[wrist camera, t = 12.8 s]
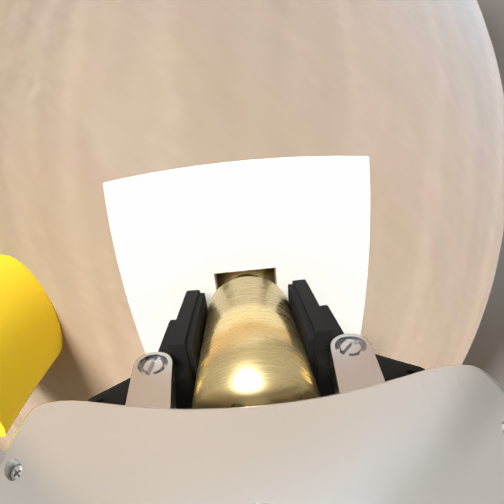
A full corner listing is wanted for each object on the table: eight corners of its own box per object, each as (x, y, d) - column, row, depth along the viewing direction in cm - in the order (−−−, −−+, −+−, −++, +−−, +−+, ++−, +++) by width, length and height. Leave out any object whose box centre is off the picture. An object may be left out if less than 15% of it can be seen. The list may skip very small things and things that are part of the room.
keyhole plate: (334, 400, 19) (342, 421, 16) (186, 414, 19) (183, 437, 16) (348, 156, 13) (368, 156, 11) (123, 178, 13) (102, 182, 11)
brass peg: (284, 310, 16) (324, 446, 7) (215, 317, 15) (200, 458, 7) (281, 244, 14) (339, 362, 6) (204, 252, 14) (163, 378, 5)
